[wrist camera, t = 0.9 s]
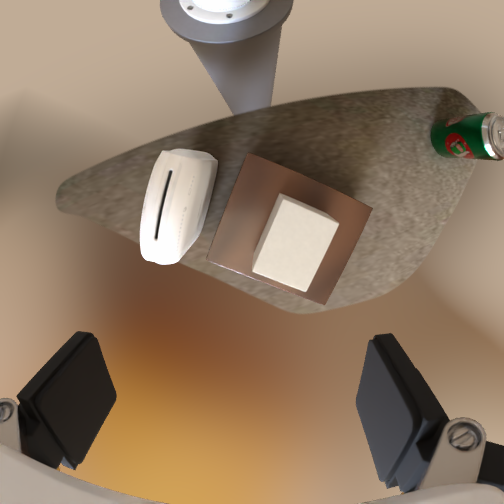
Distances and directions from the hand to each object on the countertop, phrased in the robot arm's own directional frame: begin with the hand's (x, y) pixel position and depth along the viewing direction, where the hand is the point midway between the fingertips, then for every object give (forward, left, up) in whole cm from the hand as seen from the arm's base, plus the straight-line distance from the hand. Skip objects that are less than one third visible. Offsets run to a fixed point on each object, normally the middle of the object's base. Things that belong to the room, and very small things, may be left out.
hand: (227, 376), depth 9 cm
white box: (+3, +1, -21) cm, 21 cm away
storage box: (+3, +1, -27) cm, 27 cm away
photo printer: (-8, 0, -27) cm, 28 cm away
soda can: (+18, +20, -27) cm, 38 cm away
